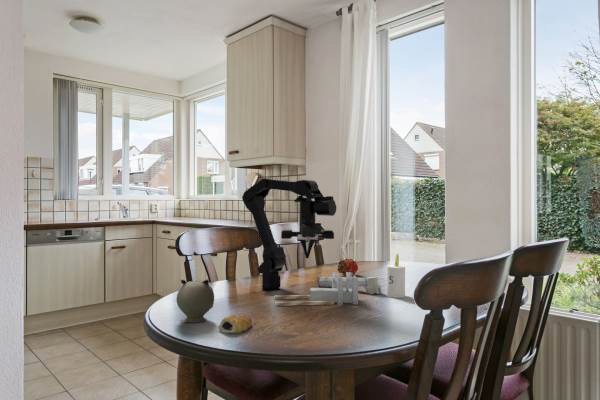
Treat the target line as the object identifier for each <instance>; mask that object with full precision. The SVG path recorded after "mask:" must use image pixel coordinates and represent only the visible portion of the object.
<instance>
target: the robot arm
mask: <svg viewBox="0 0 600 400" xmlns="http://www.w3.org/2000/svg"><path fill="white" fill-rule="evenodd" d="M270 190H276V191H287V192H291V193H294V194H296V195H298V197H296V198H295V199H294V201H293V202H295V203H299V224H298V225H299V231H293V229H282V230H281V232H280V233H281V234H280V235H281V239H285V240H287V239H288V240H290V239H292V238H293V237H295V238H296V240H297V242H300V244H301V247H302V249H303V252H304V256H305V259H309V258H310V254H311V251H312V249H313V246H314V244H315V243H316V242H319V239H318V238H319V237H320V238H324V239H326V240H328V239H329V240H333V239H335V232H334V231H333V230H332V229H322V223H321V222H316V215H317V216H328V217H330V216H331V217H333V216H335V214H336V212H337V204H336V201H335V200H334V196H333V195H332V196H331V195H330V196H329V195H327V196H324V194H323V193H322V192H321V190H320V189H319V184H318V183H317V181H315V180H310V179H297V180H292V181H290V180H282V179H274V178H273V179H272V178H270V177H268V178H267V177H263V178H261V179H260V180H259V181H258V182H257V183H255V184H253V185H251V186H250V187H249V188H248V189H247V190H245V191H244V192H243V195H242V196H241V198H242V202H243V204H244V206H245V208H246V209H247V210H248V211H249V212H250V213H251V214H252V218H253V221H254V223H255V226H256V229H257V233H258V235H259V238H260V241H261V245H262V248H263V251H262V260H263V262H261V263H260V265H259V266H258V267H257V270H258V273H259V274H262V275H261V276H262V277H261V278H262V280H261V290H262V291H279V290H280V288H281V275H280V272H282V271H283V268H284V266H285V265H286V262H287V259H286V258H287V255H286V254H285V251H284V247H283V246H278V245H277V244H276V243H277V242H276V241H275V238H274V235H273V232H272V229H271V226H270V224H269V220H268V218H267V214H266V211H265V207H266V200H265V199H266V197H267V196H268V195H269V193H270ZM306 238H308V241H307V240H306ZM307 242H308V243H307Z"/></svg>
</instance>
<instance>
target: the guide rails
mask: <svg viewBox="0 0 600 400" xmlns="http://www.w3.org/2000/svg"><path fill="white" fill-rule="evenodd" d="M273 297H274V300H292V299H293V300H294V299H296V300H297V299H298V300H299V299H310V294H295V295H294V294H287V295H285V294H284V295H278V294H277V295H274V296H273ZM274 305H275V307H283V306H284V307H285V306H287V307H288V306H289V307H290V306H326V305H328V306H330V305H335V302H334V301H310V300H309V301H308V300H305V301H303V300H302V301H301V300H300V301H275V302H274Z"/></svg>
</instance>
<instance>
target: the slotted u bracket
mask: <svg viewBox="0 0 600 400" xmlns="http://www.w3.org/2000/svg"><path fill="white" fill-rule="evenodd" d="M331 277H332V287H331V288H337V302H336V304H337V306H343V304H344V302H343V289H344V287H343V278H342V277H343V276H341V275H340V273H339V272H338V271H337V272H336V271H332V272H331ZM358 278H359V277H357V276H356V274H355V275H354V274H353V273H352V272H346V287H345V289H346V288H348V289H352V303H351V304H352V305H353V306H354V305H359V286H358Z"/></svg>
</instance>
